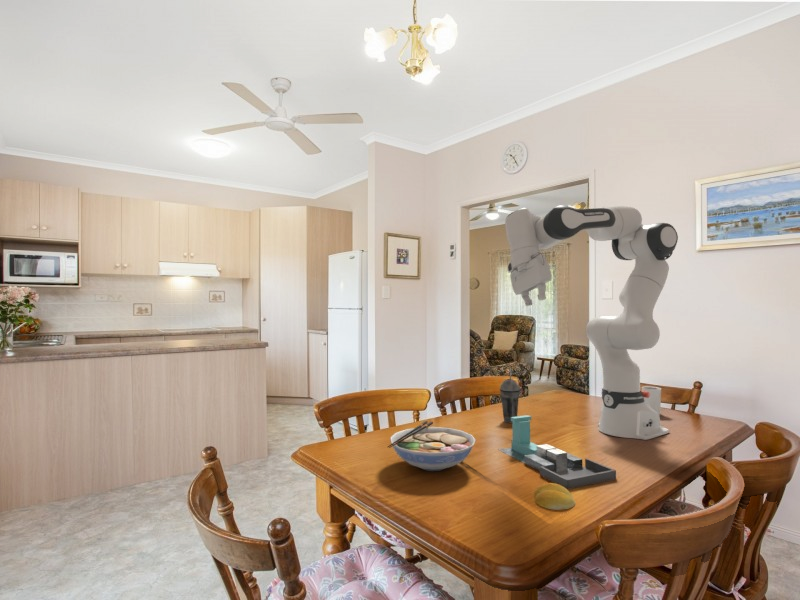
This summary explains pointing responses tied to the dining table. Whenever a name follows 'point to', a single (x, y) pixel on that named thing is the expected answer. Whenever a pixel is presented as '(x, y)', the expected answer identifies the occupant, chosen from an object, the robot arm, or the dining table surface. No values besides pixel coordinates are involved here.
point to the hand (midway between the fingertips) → (535, 302)
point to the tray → (580, 475)
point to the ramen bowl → (432, 446)
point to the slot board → (542, 460)
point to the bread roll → (553, 497)
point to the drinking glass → (653, 398)
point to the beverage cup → (509, 398)
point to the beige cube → (543, 450)
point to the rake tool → (522, 436)
